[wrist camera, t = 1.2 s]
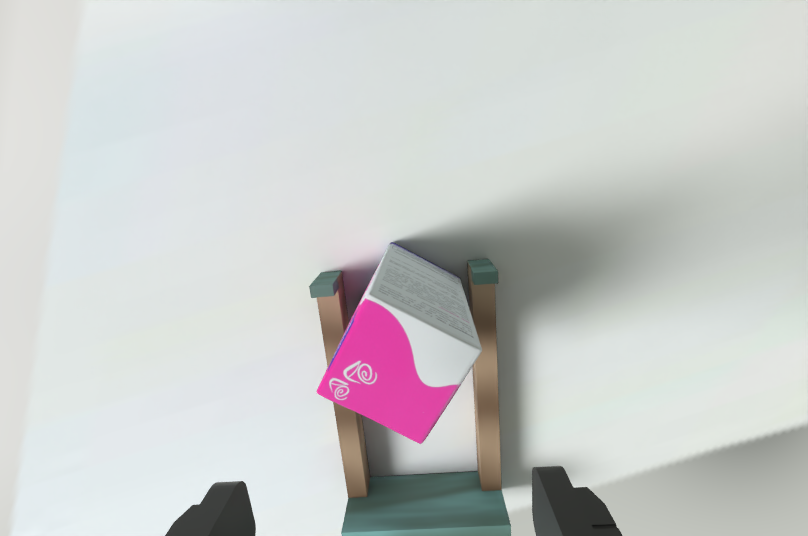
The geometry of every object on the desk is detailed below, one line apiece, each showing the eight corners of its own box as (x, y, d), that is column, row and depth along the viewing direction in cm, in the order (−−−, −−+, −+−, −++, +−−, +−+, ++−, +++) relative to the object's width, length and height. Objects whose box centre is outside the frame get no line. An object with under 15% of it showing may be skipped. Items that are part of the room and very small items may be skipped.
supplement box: (388, 238, 27) (369, 289, 16) (461, 277, 28) (492, 352, 17) (352, 306, 28) (312, 397, 17) (423, 342, 29) (427, 451, 18)
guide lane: (321, 272, 28) (301, 295, 23) (488, 259, 27) (504, 279, 22) (355, 497, 33) (345, 554, 28) (496, 490, 32) (511, 547, 27)
